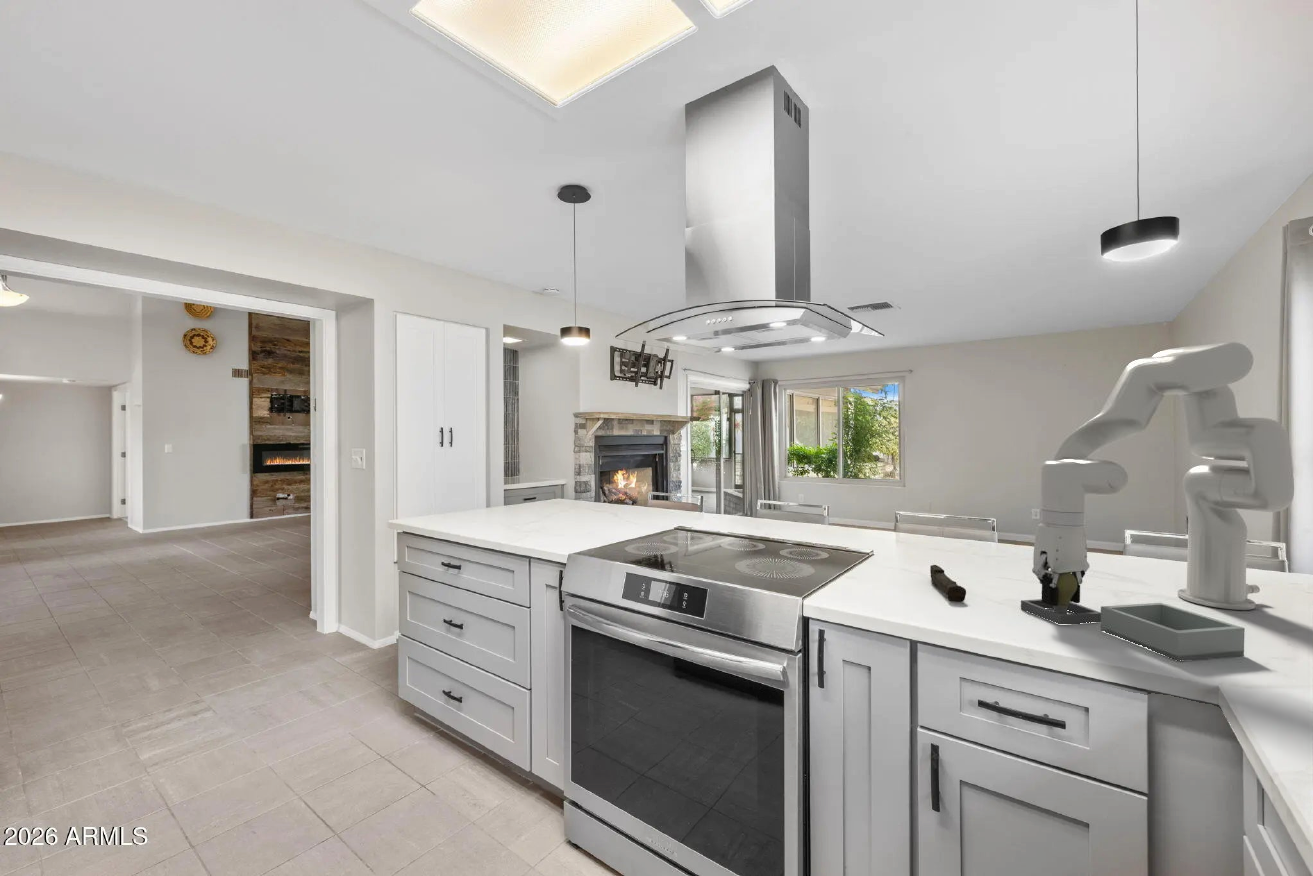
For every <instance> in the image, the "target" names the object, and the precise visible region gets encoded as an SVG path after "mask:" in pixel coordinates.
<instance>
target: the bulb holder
mask: <svg viewBox="0 0 1313 876" xmlns="http://www.w3.org/2000/svg"><path fill="white" fill-rule="evenodd" d="M1045 608H1054V607H1053V606H1052V605H1049V604H1046V603H1043V602H1042V598H1038V599H1024V600H1020V610H1021V609H1022V611H1024V610H1025V611H1024V612H1026V611H1028V612H1027V613H1029V612H1030V613H1029V614H1031V613H1033V614H1035V615H1034V616H1036V615H1038V616H1040V617H1039V618H1041V617H1043V618H1045V619H1044V620H1046V619H1048V620H1051V621H1053V622H1056V623H1058V624H1078V625H1081V624H1080V623H1086V622H1087V623H1089V622H1090V623H1091V622H1101V611H1098V610H1095V609H1092V608H1089V607H1086V606H1084V605H1081V604H1080V603H1074V602H1071V601H1070V603H1069V605H1068V607H1067V610H1069V611H1072V612H1074V613H1075V614H1074V613H1072V612H1071V613H1067V614H1058V613H1056V612H1053V611H1054V610H1052V609H1045ZM1069 611H1068V612H1069ZM1033 614H1032V615H1033ZM1038 616H1037V617H1038ZM1043 618H1042V619H1043ZM1048 620H1047V621H1048ZM1053 622H1052V623H1053ZM1058 624H1057V625H1058Z"/></svg>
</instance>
